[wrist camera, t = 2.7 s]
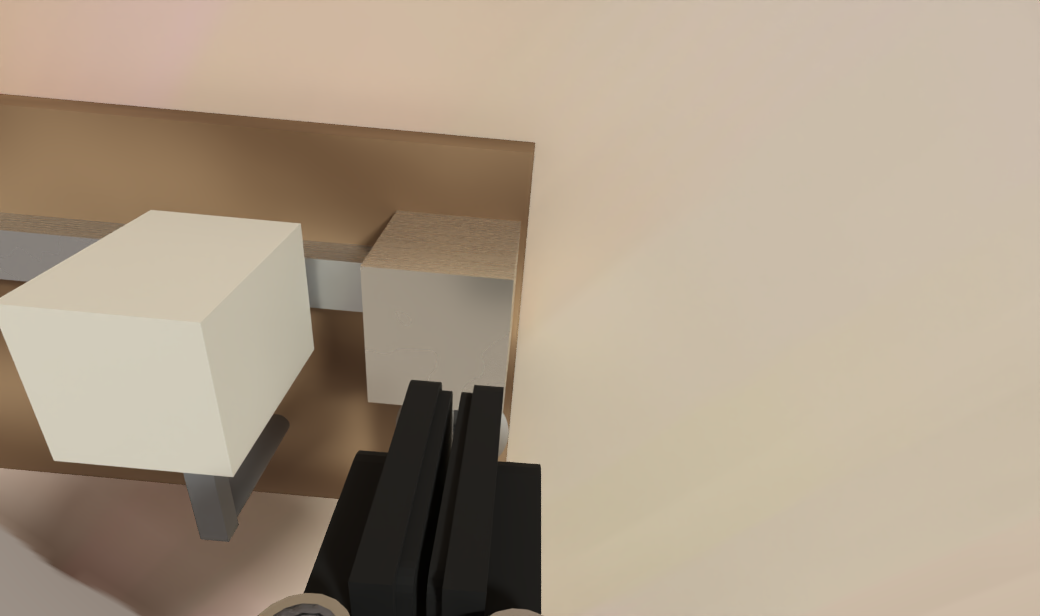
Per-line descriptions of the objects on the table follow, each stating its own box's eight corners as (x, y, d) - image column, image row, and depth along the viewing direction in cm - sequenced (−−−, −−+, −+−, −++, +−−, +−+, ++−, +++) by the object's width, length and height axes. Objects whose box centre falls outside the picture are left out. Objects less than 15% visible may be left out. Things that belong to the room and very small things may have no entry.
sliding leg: (336, 437, 21) (259, 601, 15) (222, 426, 21) (105, 587, 15) (315, 209, 17) (199, 322, 11) (173, 196, 17) (-10, 303, 11)
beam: (502, 442, 21) (493, 528, 18) (-22, 394, 21) (-127, 471, 18) (521, 221, 17) (513, 280, 14) (-127, 162, 17) (-288, 206, 14)
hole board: (503, 490, 24) (501, 517, 23) (11, 445, 24) (-18, 470, 23) (534, 142, 17) (534, 155, 16) (-151, 80, 17) (-204, 88, 16)
